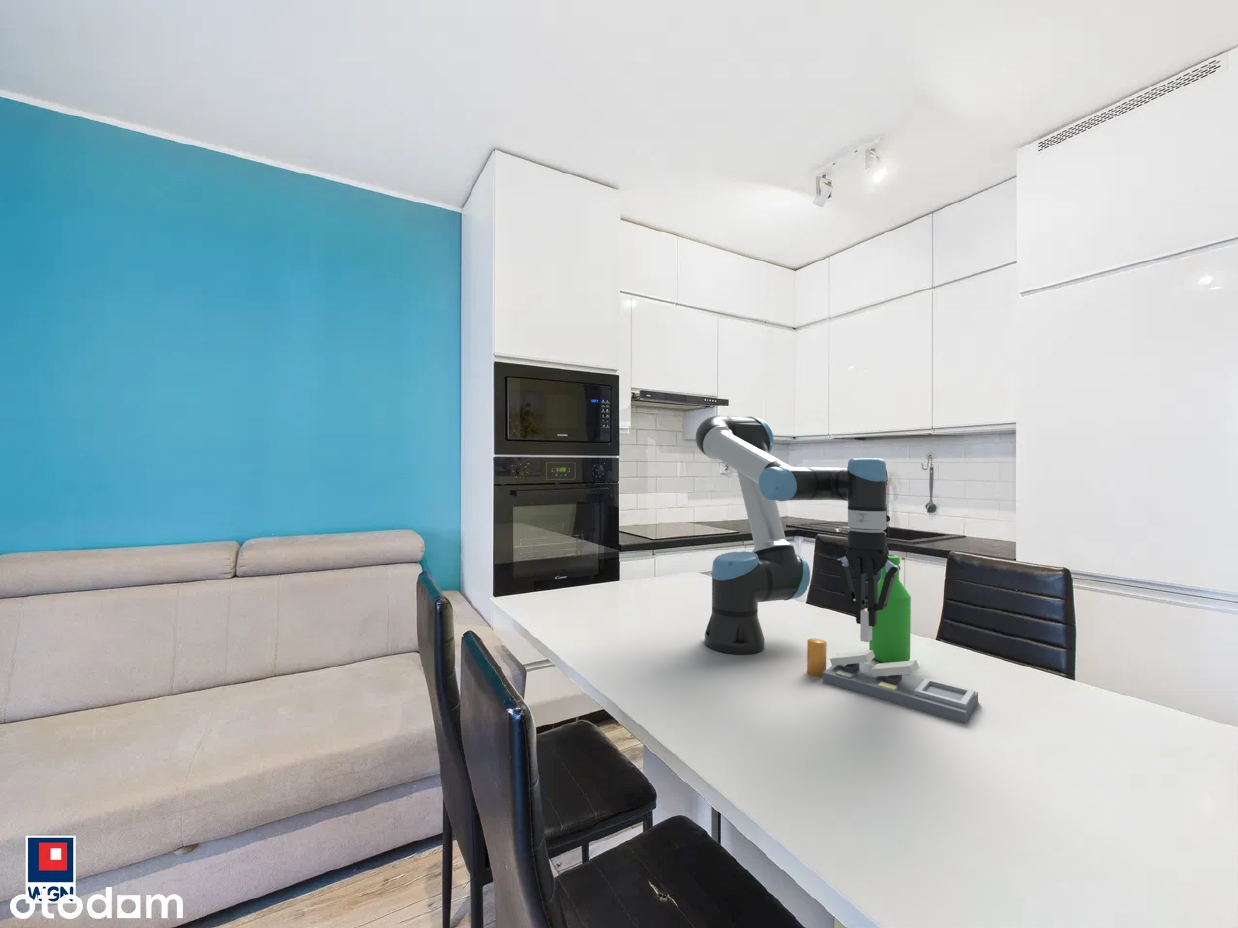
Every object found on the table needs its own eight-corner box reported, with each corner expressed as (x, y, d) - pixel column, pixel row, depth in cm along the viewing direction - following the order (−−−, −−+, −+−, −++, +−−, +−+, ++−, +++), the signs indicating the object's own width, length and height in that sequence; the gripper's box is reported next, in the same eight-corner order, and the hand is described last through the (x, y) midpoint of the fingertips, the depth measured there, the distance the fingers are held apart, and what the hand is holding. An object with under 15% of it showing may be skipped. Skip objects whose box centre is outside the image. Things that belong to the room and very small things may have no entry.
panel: (822, 681, 112) (822, 666, 112) (843, 666, 121) (843, 652, 121) (965, 723, 94) (965, 705, 94) (978, 702, 103) (978, 686, 103)
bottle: (906, 668, 120) (907, 560, 120) (865, 659, 125) (866, 555, 125) (912, 657, 127) (913, 555, 127) (873, 649, 132) (874, 551, 132)
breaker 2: (872, 676, 109) (870, 669, 109) (879, 670, 112) (877, 663, 112) (913, 673, 104) (910, 665, 104) (919, 667, 107) (916, 660, 107)
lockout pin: (804, 672, 117) (804, 641, 117) (811, 667, 120) (811, 637, 120) (821, 677, 114) (822, 645, 114) (829, 672, 117) (829, 641, 117)
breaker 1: (832, 665, 115) (829, 658, 115) (839, 660, 118) (837, 653, 118) (868, 662, 109) (865, 654, 110) (875, 656, 113) (872, 649, 113)
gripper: (829, 528, 114) (828, 637, 114) (894, 534, 105) (893, 651, 105) (842, 526, 119) (842, 629, 119) (905, 531, 110) (904, 643, 110)
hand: (866, 639), depth 112 cm, fingers closed
